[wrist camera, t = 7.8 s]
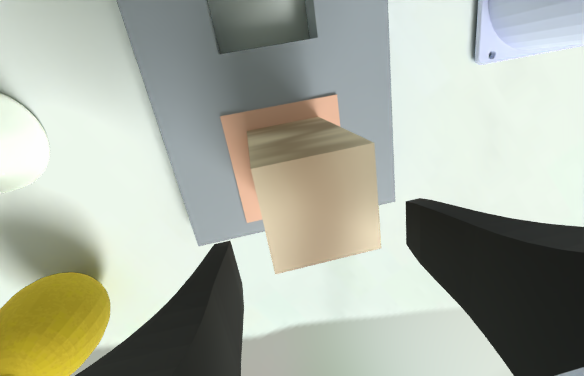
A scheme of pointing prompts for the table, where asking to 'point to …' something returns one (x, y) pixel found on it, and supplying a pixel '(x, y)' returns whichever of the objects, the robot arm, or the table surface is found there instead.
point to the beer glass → (20, 146)
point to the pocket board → (257, 97)
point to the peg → (315, 192)
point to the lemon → (52, 325)
